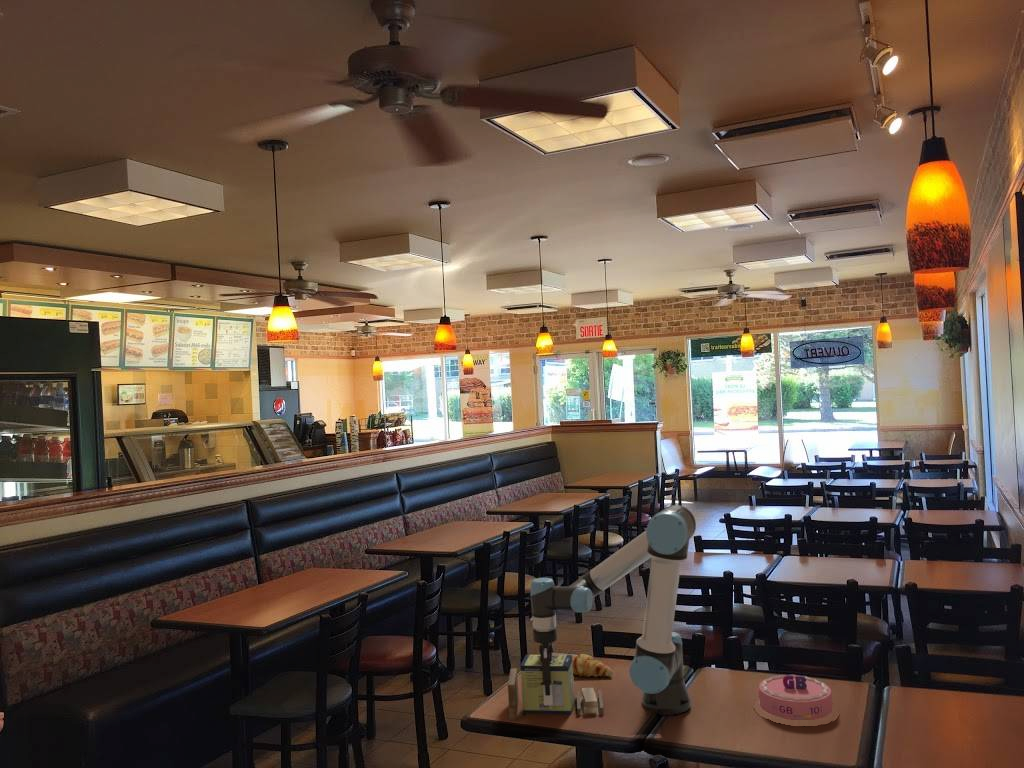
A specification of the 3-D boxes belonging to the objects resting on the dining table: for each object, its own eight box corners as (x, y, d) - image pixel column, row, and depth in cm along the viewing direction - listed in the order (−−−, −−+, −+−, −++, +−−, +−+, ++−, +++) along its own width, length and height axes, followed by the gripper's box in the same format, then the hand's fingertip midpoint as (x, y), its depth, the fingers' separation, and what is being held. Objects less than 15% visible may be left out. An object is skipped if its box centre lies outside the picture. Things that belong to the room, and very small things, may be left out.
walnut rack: (601, 699, 257) (599, 665, 257) (603, 717, 243) (601, 681, 243) (512, 702, 259) (510, 668, 259) (509, 720, 245) (507, 684, 245)
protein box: (528, 701, 258) (525, 653, 258) (575, 702, 255) (572, 654, 255) (522, 715, 248) (519, 665, 248) (571, 716, 245) (568, 665, 245)
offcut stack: (596, 697, 257) (595, 686, 257) (597, 713, 245) (597, 701, 245) (582, 698, 257) (581, 687, 257) (583, 713, 245) (582, 701, 245)
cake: (753, 725, 233) (751, 689, 233) (752, 692, 257) (750, 659, 257) (845, 730, 227) (843, 693, 227) (834, 696, 251) (832, 662, 251)
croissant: (616, 684, 279) (619, 661, 282) (605, 680, 271) (609, 655, 274) (562, 674, 289) (566, 652, 293) (550, 670, 282) (554, 647, 285)
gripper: (534, 617, 263) (538, 683, 263) (531, 640, 240) (535, 713, 240) (556, 616, 263) (560, 683, 263) (556, 639, 240) (560, 712, 240)
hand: (548, 697), depth 251 cm, fingers closed on protein box, 11 cm apart
